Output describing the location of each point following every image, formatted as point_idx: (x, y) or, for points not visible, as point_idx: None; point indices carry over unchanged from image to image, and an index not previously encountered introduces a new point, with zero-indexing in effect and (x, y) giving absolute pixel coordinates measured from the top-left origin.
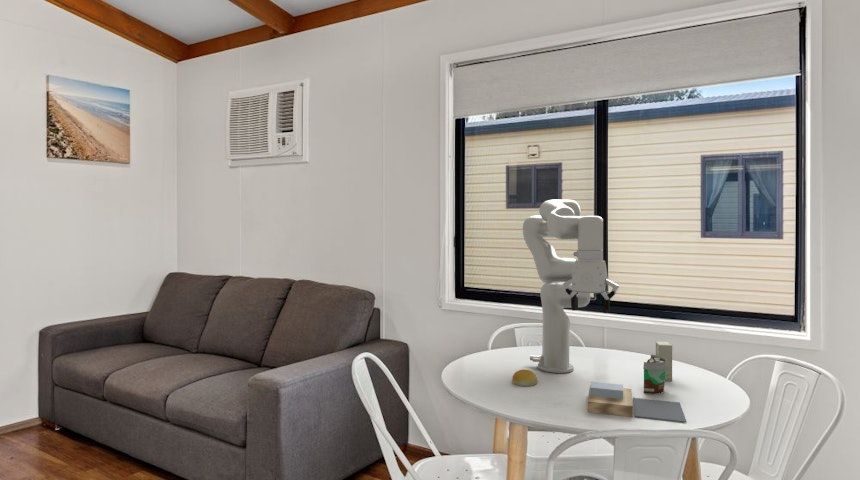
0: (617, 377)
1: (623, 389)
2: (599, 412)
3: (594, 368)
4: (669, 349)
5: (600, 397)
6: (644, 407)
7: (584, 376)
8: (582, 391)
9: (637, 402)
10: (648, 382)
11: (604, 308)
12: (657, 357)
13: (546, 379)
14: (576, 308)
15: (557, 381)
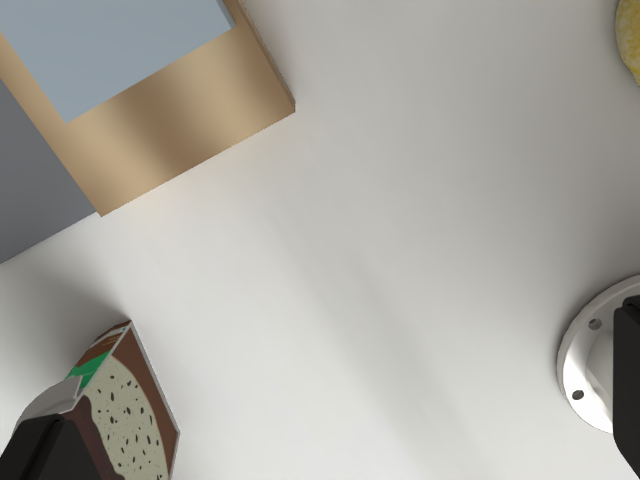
0: (344, 434)
1: (121, 177)
2: None
3: (492, 477)
4: None
5: None
6: None
7: (470, 344)
8: (352, 120)
9: (45, 151)
10: (92, 353)
11: (3, 469)
12: None
13: (605, 160)
14: (623, 398)
15: (540, 173)
